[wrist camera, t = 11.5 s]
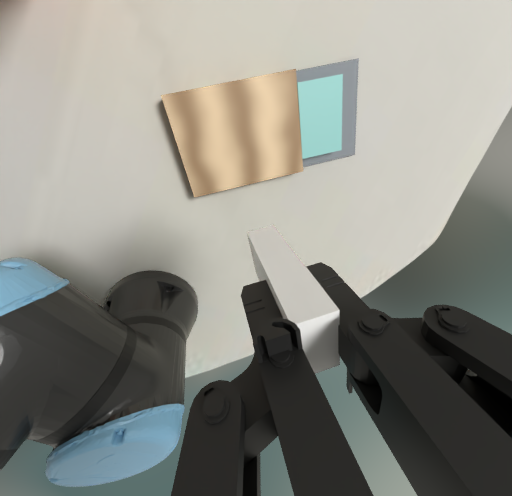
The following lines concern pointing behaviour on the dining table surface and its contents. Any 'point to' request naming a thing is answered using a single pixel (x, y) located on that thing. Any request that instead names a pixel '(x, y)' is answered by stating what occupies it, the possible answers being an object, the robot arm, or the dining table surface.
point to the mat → (348, 105)
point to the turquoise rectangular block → (320, 115)
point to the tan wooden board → (237, 131)
